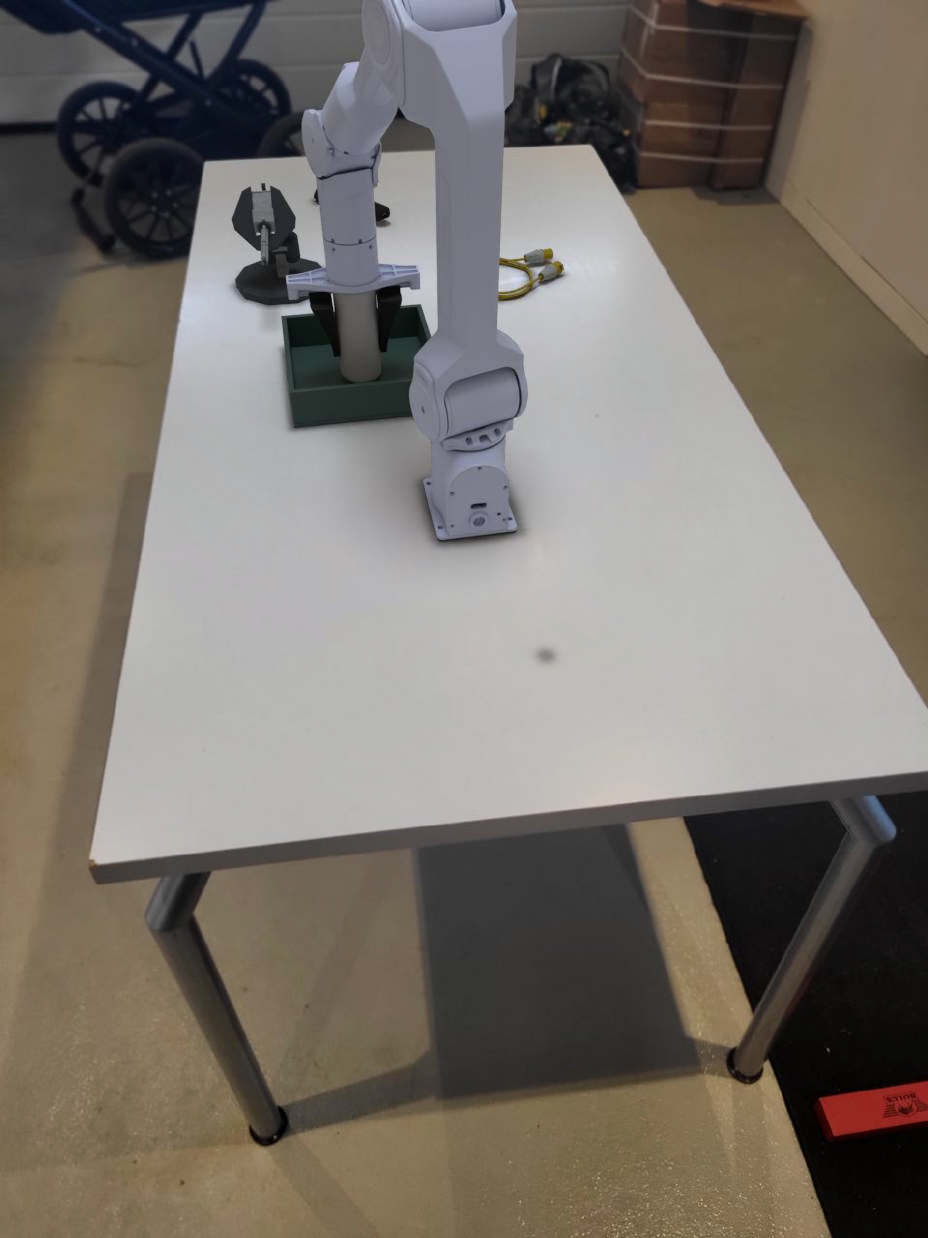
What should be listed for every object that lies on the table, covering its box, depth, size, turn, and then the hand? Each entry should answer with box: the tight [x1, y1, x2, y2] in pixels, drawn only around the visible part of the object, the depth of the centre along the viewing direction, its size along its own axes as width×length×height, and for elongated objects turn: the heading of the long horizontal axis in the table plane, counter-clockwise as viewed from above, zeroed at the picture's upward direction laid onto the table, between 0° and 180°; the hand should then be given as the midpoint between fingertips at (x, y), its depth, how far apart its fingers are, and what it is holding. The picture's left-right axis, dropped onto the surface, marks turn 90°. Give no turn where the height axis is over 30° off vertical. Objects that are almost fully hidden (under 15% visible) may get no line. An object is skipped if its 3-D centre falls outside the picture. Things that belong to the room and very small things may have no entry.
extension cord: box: [498, 247, 565, 301], centre depth 123 cm, size 12×16×2 cm
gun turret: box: [231, 182, 323, 306], centre depth 116 cm, size 13×20×13 cm, turn 9°
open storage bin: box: [280, 303, 432, 428], centre depth 104 cm, size 17×17×4 cm
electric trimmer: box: [313, 188, 391, 222], centre depth 138 cm, size 4×16×3 cm, turn 47°
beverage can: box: [332, 289, 381, 384], centre depth 101 cm, size 5×5×12 cm
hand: (359, 350), depth 103 cm, fingers closed on beverage can, 5 cm apart
